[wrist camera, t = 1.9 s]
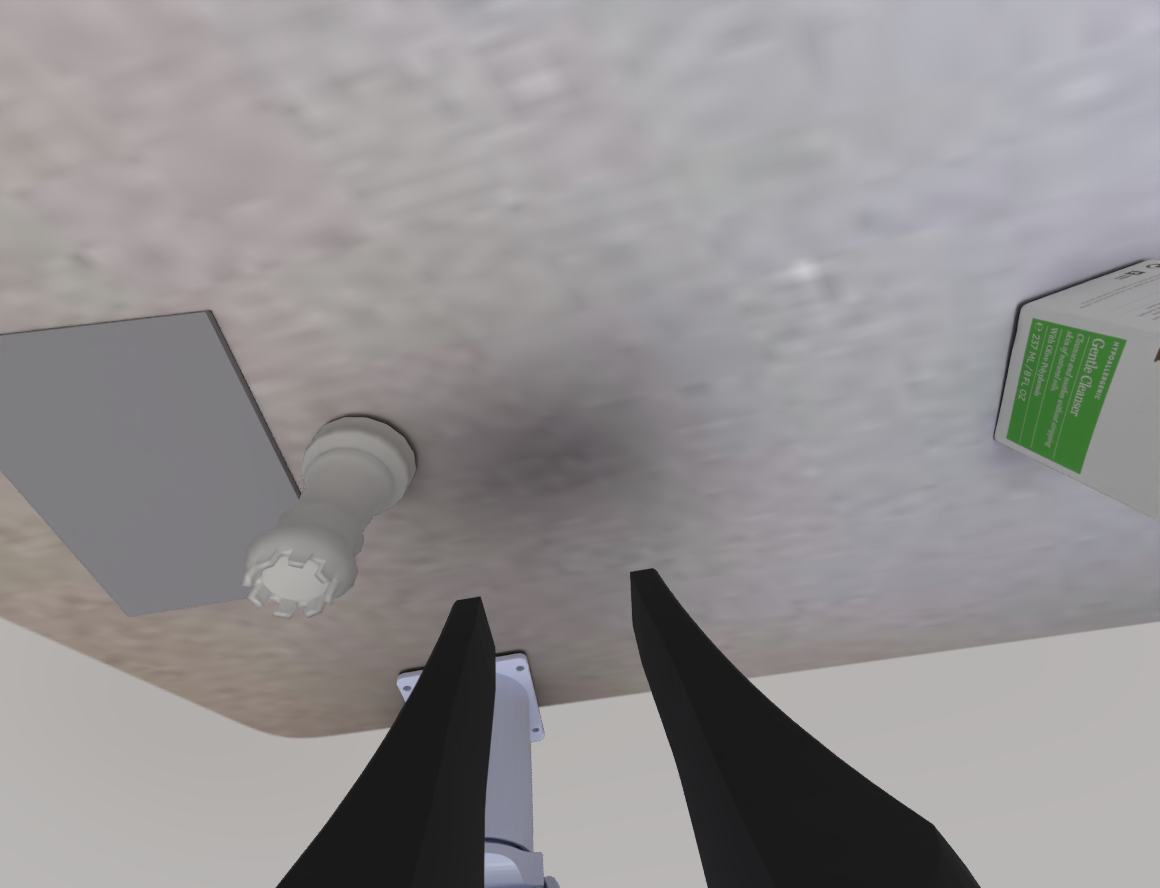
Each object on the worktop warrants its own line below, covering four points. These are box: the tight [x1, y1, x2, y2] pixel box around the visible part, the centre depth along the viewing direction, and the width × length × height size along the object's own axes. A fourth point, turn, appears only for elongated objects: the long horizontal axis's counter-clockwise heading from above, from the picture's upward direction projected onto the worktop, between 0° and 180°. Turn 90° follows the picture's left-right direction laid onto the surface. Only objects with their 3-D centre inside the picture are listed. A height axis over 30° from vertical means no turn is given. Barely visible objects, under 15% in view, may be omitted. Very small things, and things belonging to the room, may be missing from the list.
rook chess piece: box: [241, 417, 416, 619], centre depth 17 cm, size 4×4×8 cm
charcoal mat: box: [0, 310, 301, 617], centre depth 19 cm, size 14×10×1 cm
